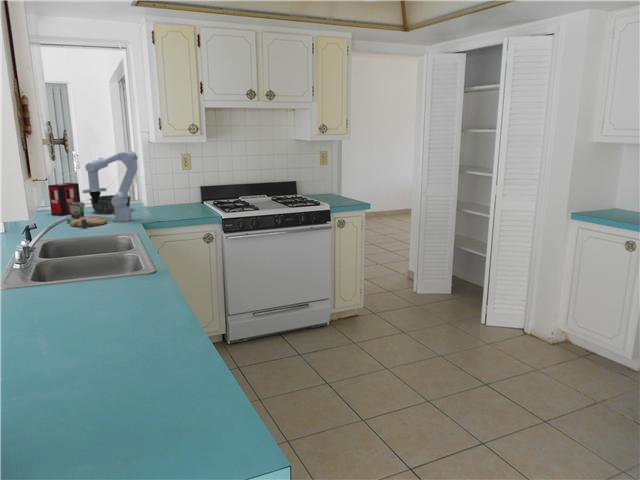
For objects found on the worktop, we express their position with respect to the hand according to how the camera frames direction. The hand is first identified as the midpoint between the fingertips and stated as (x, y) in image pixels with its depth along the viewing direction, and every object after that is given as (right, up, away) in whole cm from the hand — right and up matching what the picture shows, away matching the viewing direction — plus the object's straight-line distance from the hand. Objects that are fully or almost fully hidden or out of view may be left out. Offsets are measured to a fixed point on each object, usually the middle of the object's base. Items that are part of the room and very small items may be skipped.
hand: (96, 203), depth 309 cm
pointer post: (+4, -16, -22) cm, 27 cm away
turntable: (+1, -13, -11) cm, 17 cm away
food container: (-14, -9, +8) cm, 19 cm away
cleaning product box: (-31, -5, +24) cm, 40 cm away
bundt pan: (-4, -4, +33) cm, 33 cm away
